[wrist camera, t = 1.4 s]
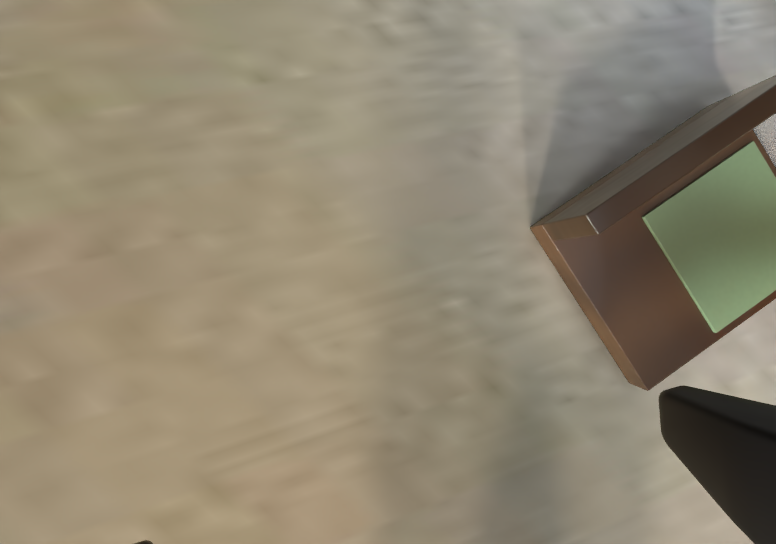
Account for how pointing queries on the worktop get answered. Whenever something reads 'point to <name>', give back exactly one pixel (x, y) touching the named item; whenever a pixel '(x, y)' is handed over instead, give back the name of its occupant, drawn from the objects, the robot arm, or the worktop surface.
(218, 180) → the worktop surface
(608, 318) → the brown tray
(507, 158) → the worktop surface
